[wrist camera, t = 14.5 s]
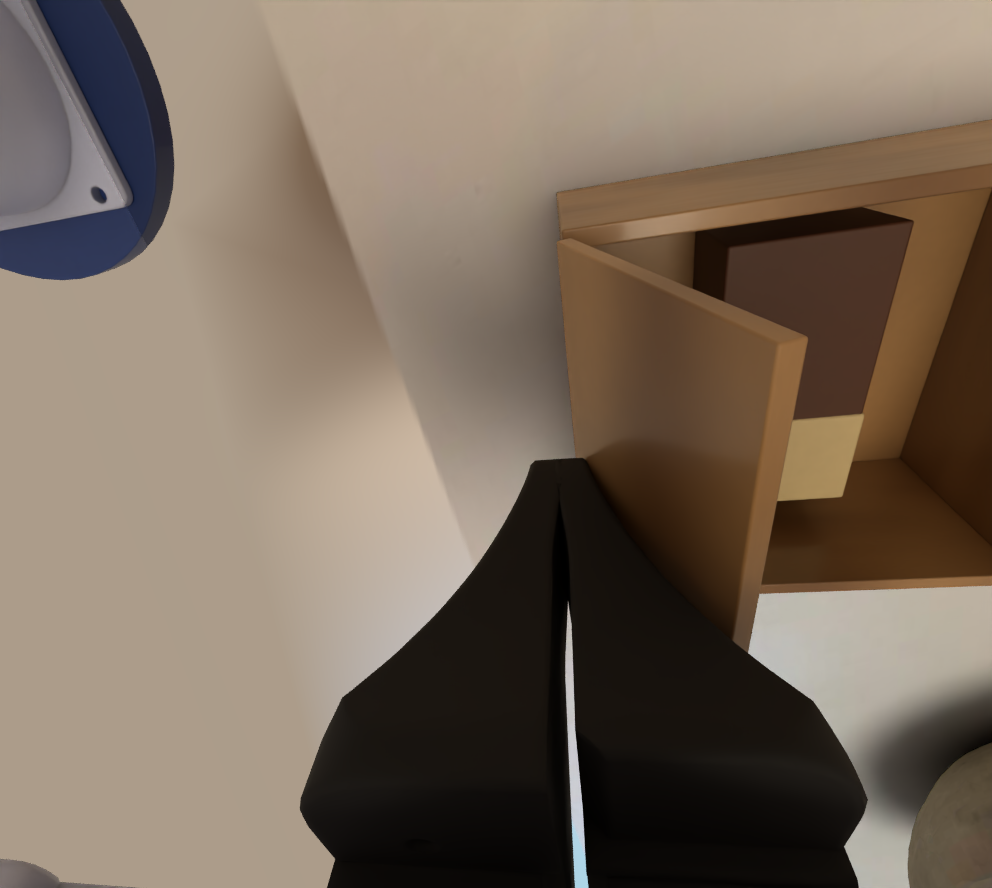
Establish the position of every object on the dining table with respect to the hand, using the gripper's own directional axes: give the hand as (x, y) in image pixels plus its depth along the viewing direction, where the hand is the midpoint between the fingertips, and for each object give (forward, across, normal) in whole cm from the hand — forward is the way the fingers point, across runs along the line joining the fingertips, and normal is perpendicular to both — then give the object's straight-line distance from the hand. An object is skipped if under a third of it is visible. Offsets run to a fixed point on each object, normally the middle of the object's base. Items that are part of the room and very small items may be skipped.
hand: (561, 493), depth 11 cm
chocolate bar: (+7, -6, 0) cm, 9 cm away
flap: (-2, -2, 0) cm, 3 cm away
